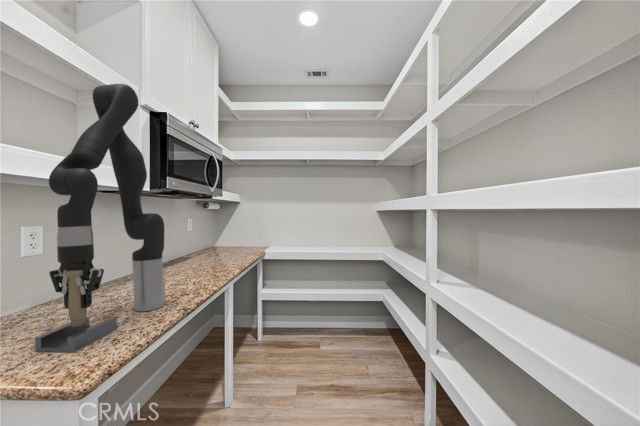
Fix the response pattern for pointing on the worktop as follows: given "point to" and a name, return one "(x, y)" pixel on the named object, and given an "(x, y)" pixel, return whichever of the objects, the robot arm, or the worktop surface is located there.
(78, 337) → the floor track
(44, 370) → the worktop surface
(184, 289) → the worktop surface
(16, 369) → the worktop surface
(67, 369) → the worktop surface
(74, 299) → the handle
